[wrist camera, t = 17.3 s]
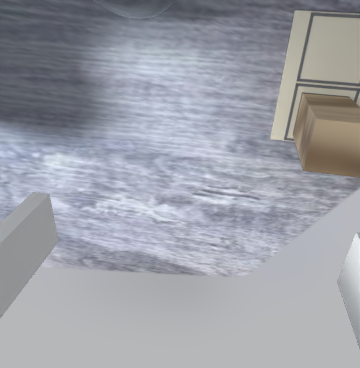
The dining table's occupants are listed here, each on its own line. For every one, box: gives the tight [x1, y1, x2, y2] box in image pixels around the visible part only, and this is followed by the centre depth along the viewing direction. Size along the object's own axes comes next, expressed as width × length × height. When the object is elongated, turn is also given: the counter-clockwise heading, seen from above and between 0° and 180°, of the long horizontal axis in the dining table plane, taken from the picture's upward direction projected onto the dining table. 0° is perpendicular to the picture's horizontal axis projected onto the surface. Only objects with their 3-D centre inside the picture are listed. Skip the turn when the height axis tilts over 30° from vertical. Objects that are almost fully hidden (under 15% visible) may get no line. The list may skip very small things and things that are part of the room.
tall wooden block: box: [293, 92, 360, 178], centre depth 33 cm, size 5×5×10 cm
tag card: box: [270, 10, 360, 142], centre depth 36 cm, size 10×14×1 cm
